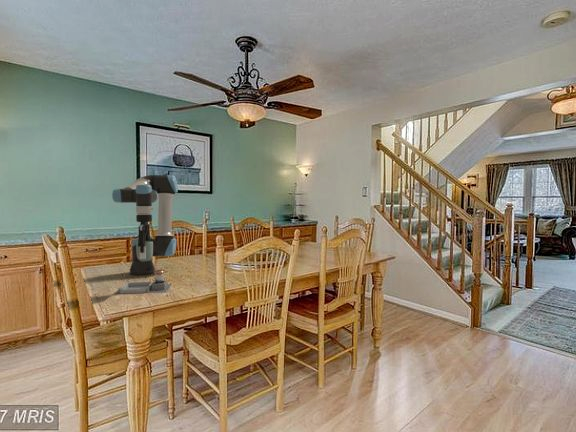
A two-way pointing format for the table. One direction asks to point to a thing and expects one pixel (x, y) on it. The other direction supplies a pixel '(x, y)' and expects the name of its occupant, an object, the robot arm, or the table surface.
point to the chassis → (144, 287)
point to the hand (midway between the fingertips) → (144, 257)
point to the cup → (148, 251)
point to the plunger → (159, 276)
